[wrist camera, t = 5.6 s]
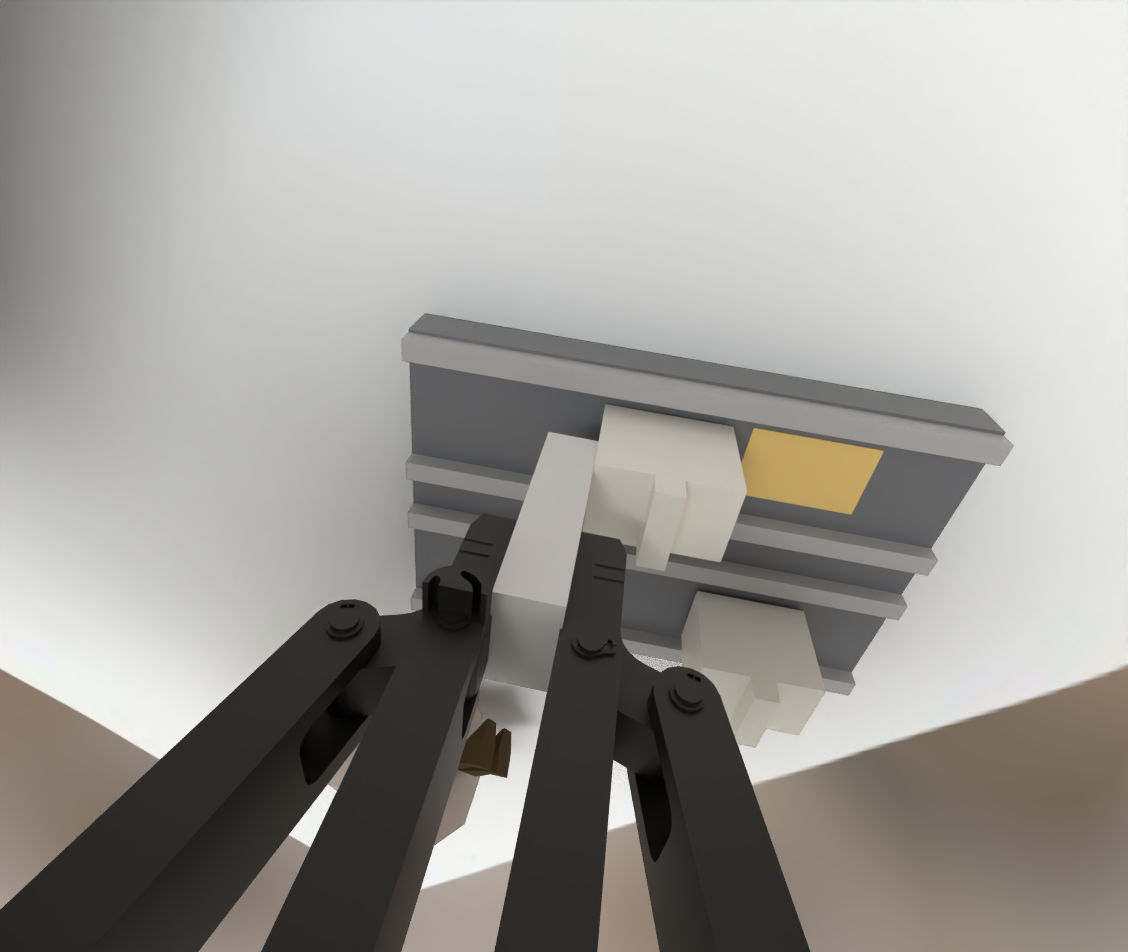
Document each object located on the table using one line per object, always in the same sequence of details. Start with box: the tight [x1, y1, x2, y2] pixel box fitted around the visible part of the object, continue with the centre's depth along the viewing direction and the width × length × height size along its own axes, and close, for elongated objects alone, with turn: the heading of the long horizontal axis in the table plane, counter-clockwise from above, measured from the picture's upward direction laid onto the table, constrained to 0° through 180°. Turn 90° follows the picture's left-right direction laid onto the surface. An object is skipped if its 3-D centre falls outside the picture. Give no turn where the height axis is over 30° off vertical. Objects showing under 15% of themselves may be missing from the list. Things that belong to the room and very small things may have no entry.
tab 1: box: [582, 404, 747, 571], centre depth 17 cm, size 4×2×4 cm, turn 83°
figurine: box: [328, 706, 511, 845], centre depth 29 cm, size 9×7×15 cm
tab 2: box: [681, 591, 826, 748], centre depth 21 cm, size 4×2×4 cm, turn 83°
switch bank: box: [402, 314, 1014, 695], centre depth 21 cm, size 18×12×2 cm, turn 83°
